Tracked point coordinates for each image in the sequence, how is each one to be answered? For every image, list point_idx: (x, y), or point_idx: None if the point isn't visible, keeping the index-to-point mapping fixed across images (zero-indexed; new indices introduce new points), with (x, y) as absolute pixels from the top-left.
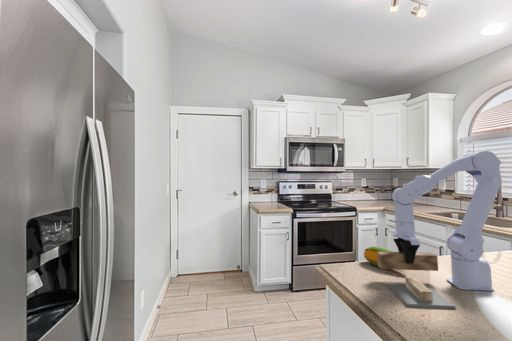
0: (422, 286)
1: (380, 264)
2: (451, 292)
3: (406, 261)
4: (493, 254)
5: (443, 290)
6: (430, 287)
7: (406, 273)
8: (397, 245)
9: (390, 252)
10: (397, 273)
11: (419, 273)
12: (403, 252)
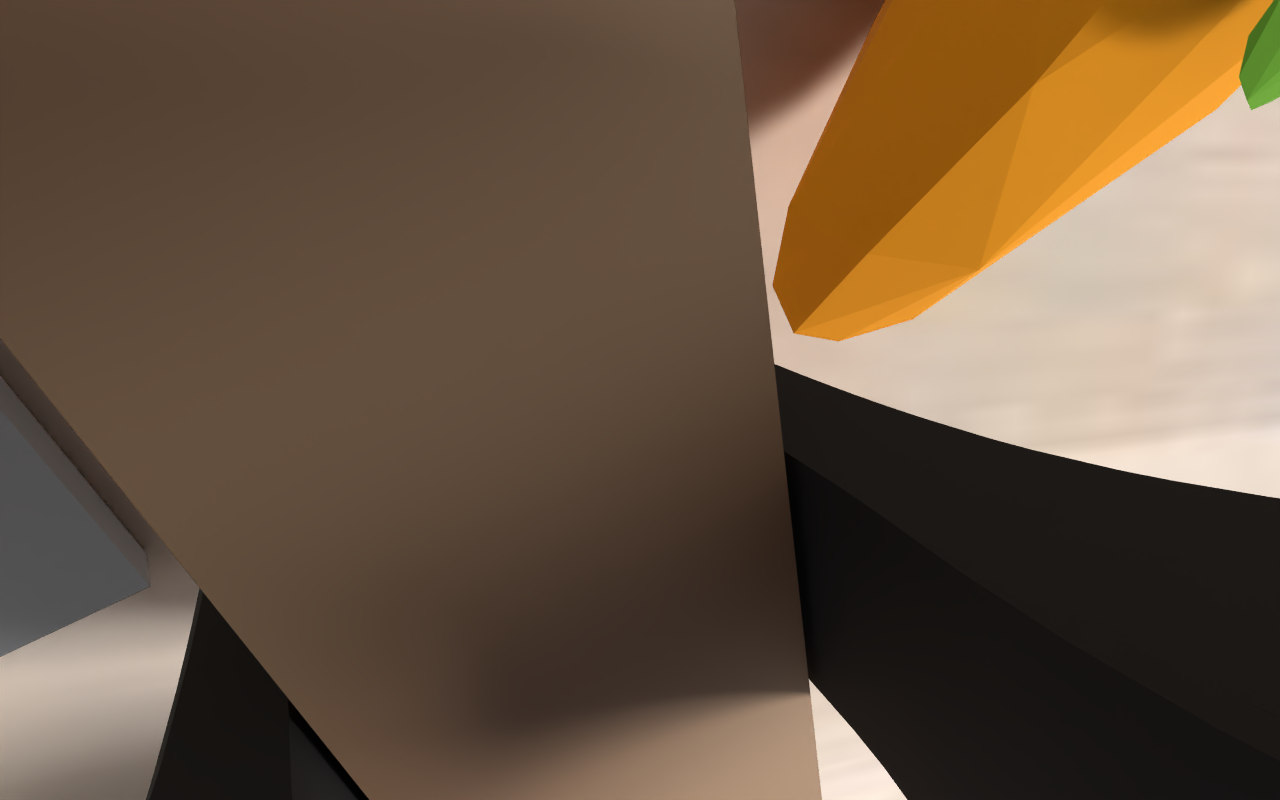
0: None
1: None
2: (129, 795)
3: (201, 591)
4: None
5: (155, 719)
6: (21, 636)
7: (787, 201)
8: (1112, 600)
9: (584, 17)
10: (758, 36)
11: (818, 378)
12: (752, 587)
